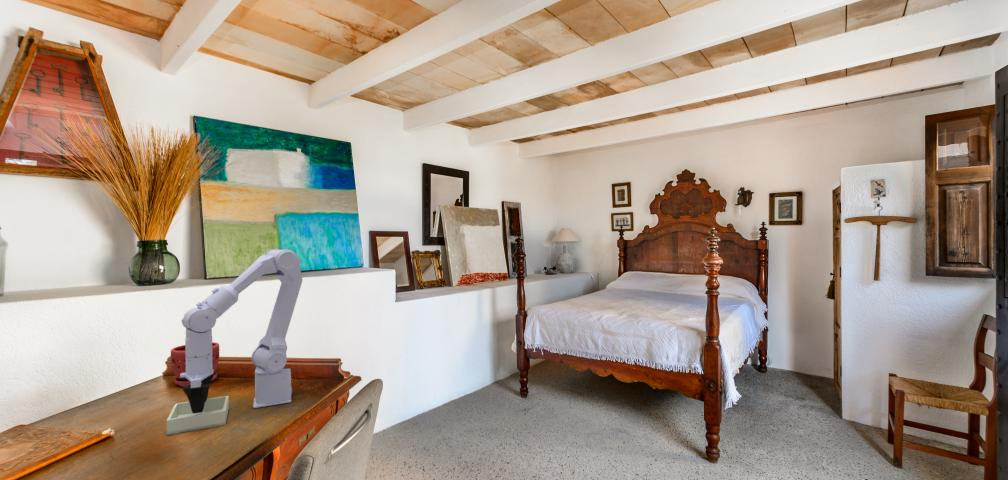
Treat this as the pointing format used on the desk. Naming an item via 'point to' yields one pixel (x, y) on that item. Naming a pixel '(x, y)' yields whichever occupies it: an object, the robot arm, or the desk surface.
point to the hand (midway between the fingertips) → (199, 407)
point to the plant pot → (180, 367)
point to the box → (198, 416)
